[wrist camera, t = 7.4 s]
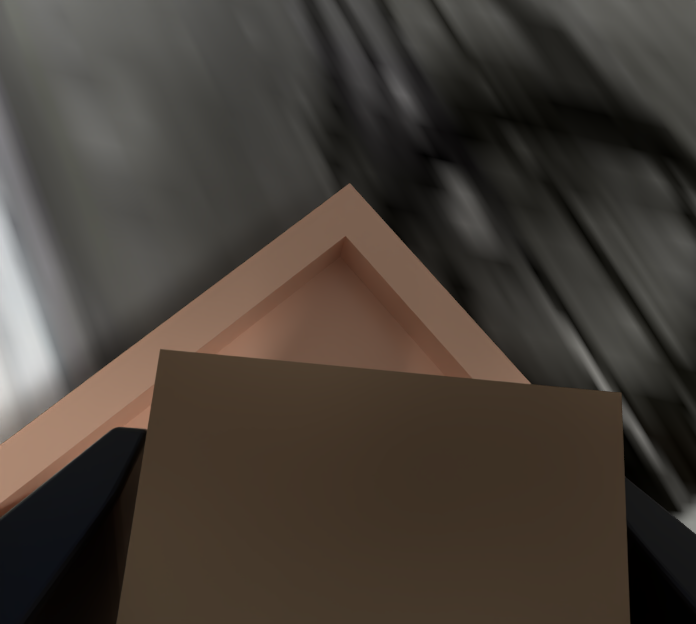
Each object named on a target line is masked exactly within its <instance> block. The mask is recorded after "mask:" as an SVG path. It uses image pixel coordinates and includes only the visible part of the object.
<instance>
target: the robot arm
mask: <svg viewBox="0 0 696 624" xmlns="http://www.w3.org/2000/svg"><path fill="white" fill-rule="evenodd" d="M146 434H147V429H142V428H129V427H116V428H113V429H111V430H110V431H109V432H107V433H106V434H105V435H104V436H102V437H101V438H100V439H99V440H97V441H96V442H95V443H94V444H92V445H91V446H90V447H89V448H87V449H86V450H85V451H83V452H82V453H81V454H80V455H78V456H77V457H76V458H75V459H73V460H72V461H71V462H70V463H68V464H67V465H66V466H65V467H63V468H62V469H61V470H60V471H58V472H57V473H56V474H55V475H53V476H52V477H51V478H50V479H48V480H47V481H46V482H45V483H43V484H42V485H41V486H39V487H38V488H37V489H36V490H34V491H33V492H32V493H31V494H29V495H28V496H27V497H26V498H24V499H23V500H22V501H21V502H19V503H18V504H17V505H16V506H14V507H13V508H12V509H11V510H9V511H8V512H7V513H6V514H4V515H3V516H2V517H1V518H0V624H116V623H117V617H118V611H119V604H120V598H121V592H122V585H123V579H124V573H125V566H126V560H127V554H128V548H129V541H130V535H131V529H132V522H133V516H134V510H135V504H136V497H137V491H138V485H139V478H140V472H141V466H142V460H143V453H144V447H145V441H146ZM625 500H626V526H627V552H628V578H629V604H630V624H696V534H695V533H694V532H692V531H691V530H690V529H689V528H687V527H686V526H685V525H684V524H683V523H681V522H680V521H679V520H678V519H676V518H675V517H674V516H673V515H671V514H670V513H669V512H668V511H667V510H665V509H664V508H663V507H662V506H660V505H659V504H658V503H657V502H655V501H654V500H653V499H652V498H651V497H649V496H648V495H647V494H646V493H644V492H643V491H642V490H641V489H639V488H638V487H637V486H636V485H634V484H633V483H632V482H631V481H630V480H628V479H627V478H626V477H625Z"/></svg>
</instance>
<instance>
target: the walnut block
mask: <svg viewBox="0 0 696 624" xmlns="http://www.w3.org/2000/svg"><path fill="white" fill-rule="evenodd" d="M116 624H630V604H629V578H628V552H627V526H626V500H625V473H624V447H623V421H622V395H621V393H619V392H608V391H597V390H587V389H576V388H566V387H555V386H545V385H534V384H524V383H513V382H503V381H492V380H481V379H471V378H460V377H450V376H439V375H429V374H418V373H408V372H397V371H386V370H376V369H365V368H355V367H344V366H334V365H323V364H313V363H302V362H292V361H281V360H270V359H260V358H249V357H239V356H228V355H218V354H207V353H197V352H186V351H176V350H165V349H160V353H159V359H158V365H157V372H156V378H155V384H154V390H153V397H152V403H151V409H150V416H149V422H148V428H147V434H146V441H145V447H144V453H143V460H142V466H141V472H140V478H139V485H138V491H137V497H136V504H135V510H134V516H133V522H132V529H131V535H130V541H129V548H128V554H127V560H126V566H125V573H124V579H123V585H122V592H121V598H120V604H119V611H118V617H117V623H116Z"/></svg>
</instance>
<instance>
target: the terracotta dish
mask: <svg viewBox="0 0 696 624" xmlns="http://www.w3.org/2000/svg"><path fill="white" fill-rule="evenodd" d="M160 349H165V350H176V351H186V352H197V353H207V354H218V355H228V356H239V357H249V358H260V359H270V360H281V361H292V362H302V363H313V364H323V365H334V366H344V367H355V368H365V369H376V370H386V371H397V372H408V373H418V374H429V375H439V376H450V377H460V378H471V379H481V380H492V381H503V382H513V383H524V384H531V383H530V382H529V381H528V380H527V379H526V378H525V377H524V375H523V374H522V373H521V372H520V371H519V370H518V369H517V368H516V367H515V366H514V364H513V363H512V362H511V361H510V360H509V359H508V358H507V357H506V356H505V354H504V353H503V352H502V351H501V350H500V349H499V348H498V347H497V346H496V344H495V343H494V342H493V341H492V340H491V339H490V338H489V337H488V336H487V335H486V333H485V332H484V331H483V330H482V329H481V328H480V327H479V326H478V325H477V323H476V322H475V321H474V320H473V319H472V318H471V317H470V316H469V315H468V313H467V312H466V311H465V310H464V309H463V308H462V307H461V306H460V305H459V304H458V302H457V301H456V300H455V299H454V298H453V297H452V296H451V295H450V294H449V292H448V291H447V290H446V289H445V288H444V287H443V286H442V285H441V284H440V282H439V281H438V280H437V279H436V278H435V277H434V276H433V275H432V274H431V273H430V271H429V270H428V269H427V268H426V267H425V266H424V265H423V264H422V263H421V261H420V260H419V259H418V258H417V257H416V256H415V255H414V254H413V253H412V251H411V250H410V249H409V248H408V247H407V246H406V245H405V244H404V243H403V242H402V240H401V239H400V238H399V237H398V236H397V235H396V234H395V233H394V232H393V230H392V229H391V228H390V227H389V226H388V225H387V224H386V223H385V222H384V220H383V219H382V218H381V217H380V216H379V215H378V214H377V213H376V212H375V211H374V209H373V208H372V207H371V206H370V205H369V204H368V203H367V202H366V201H365V199H364V198H363V197H362V196H361V195H360V194H359V193H358V192H357V191H356V189H355V188H354V187H353V186H352V185H351V184H350V183H349V184H348V185H347V186H345V187H344V188H343V189H341V190H340V191H339V192H337V193H336V194H335V195H333V196H332V197H331V198H329V199H328V200H327V201H325V202H324V203H323V204H321V205H320V206H319V207H317V208H316V209H315V210H313V211H312V212H311V213H309V214H308V215H307V216H305V217H304V218H303V219H301V220H300V221H299V222H297V223H296V224H295V225H293V226H292V227H291V228H289V229H288V230H287V231H285V232H284V233H283V234H281V235H280V236H279V237H277V238H276V239H275V240H273V241H272V242H271V243H269V244H268V245H267V246H265V247H264V248H263V249H261V250H260V251H259V252H257V253H256V254H255V255H253V256H252V257H251V258H249V259H248V260H247V261H245V262H244V263H243V264H241V265H240V266H239V267H237V268H236V269H235V270H233V271H232V272H231V273H229V274H228V275H227V276H225V277H224V278H223V279H221V280H220V281H219V282H217V283H216V284H214V285H213V286H212V287H210V288H209V289H208V290H206V291H205V292H204V293H202V294H201V295H200V296H198V297H197V298H196V299H194V300H193V301H192V302H190V303H189V304H188V305H186V306H185V307H184V308H182V309H181V310H180V311H178V312H177V313H176V314H174V315H173V316H172V317H170V318H169V319H168V320H166V321H165V322H164V323H162V324H161V325H160V326H158V327H157V328H156V329H154V330H153V331H152V332H150V333H149V334H148V335H146V336H145V337H144V338H142V339H141V340H140V341H138V342H137V343H136V344H134V345H133V346H132V347H130V348H129V349H128V350H126V351H125V352H124V353H122V354H121V355H120V356H118V357H117V358H116V359H114V360H113V361H112V362H110V363H109V364H108V365H106V366H105V367H104V368H102V369H101V370H100V371H98V372H97V373H96V374H94V375H93V376H92V377H90V378H89V379H88V380H86V381H85V382H84V383H82V384H81V385H80V386H78V387H77V388H76V389H74V390H73V391H72V392H70V393H69V394H68V395H66V396H65V397H64V398H62V399H61V400H60V401H58V402H57V403H56V404H54V405H53V406H52V407H50V408H49V409H48V410H46V411H45V412H44V413H42V414H41V415H40V416H38V417H37V418H36V419H34V420H33V421H32V422H30V423H29V424H28V425H26V426H25V427H24V428H22V429H21V430H20V431H18V432H17V433H16V434H14V435H13V436H12V437H10V438H9V439H8V440H6V441H5V442H4V443H2V444H1V445H0V518H1V517H2V516H3V515H4V514H6V513H7V512H8V511H9V510H11V509H12V508H13V507H14V506H16V505H17V504H18V503H19V502H21V501H22V500H23V499H24V498H26V497H27V496H28V495H29V494H31V493H32V492H33V491H34V490H36V489H37V488H38V487H39V486H41V485H42V484H43V483H45V482H46V481H47V480H48V479H50V478H51V477H52V476H53V475H55V474H56V473H57V472H58V471H60V470H61V469H62V468H63V467H65V466H66V465H67V464H68V463H70V462H71V461H72V460H73V459H75V458H76V457H77V456H78V455H80V454H81V453H82V452H83V451H85V450H86V449H87V448H89V447H90V446H91V445H92V444H94V443H95V442H96V441H97V440H99V439H100V438H101V437H102V436H104V435H105V434H106V433H107V432H109V431H110V430H111V429H113V428H116V427H129V428H142V429H147V428H148V422H149V416H150V409H151V403H152V397H153V390H154V384H155V378H156V372H157V365H158V359H159V353H160Z"/></svg>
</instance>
